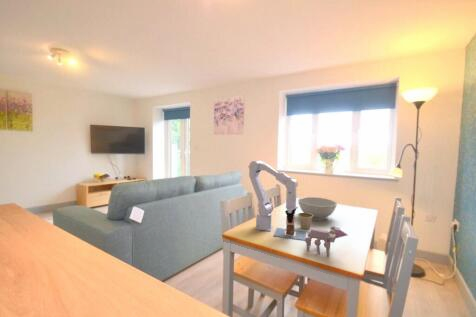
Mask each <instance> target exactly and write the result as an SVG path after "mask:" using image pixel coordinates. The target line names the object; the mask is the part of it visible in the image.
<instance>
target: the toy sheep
mask: <svg viewBox="0 0 476 317" xmlns="http://www.w3.org/2000/svg"><path fill="white" fill-rule="evenodd" d="M309 230H310V231H309V232H308V233H307V236H306V238H305V241H304V243H306V244H305V246H306V251H307V252H310V247H311V245H312V239H314V242H313V243H314V245H315V246H316V254H317V255H320V247H321V246H320V245H321V242H322V241H323V242H324V243H323V246H324V248H325V253H326V257H330V250H331V243H332V244H333V243H335V240H336V239H338V238H343V237H347V236H349V234H347V233H346V232H344V231H343V230H341V227H338V226H334V225H333V226H331V227H330V230H329V231H328V230H325V229H320V228H314V227H310V229H309Z"/></svg>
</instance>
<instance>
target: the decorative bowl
mask: <svg viewBox="0 0 476 317" xmlns="http://www.w3.org/2000/svg"><path fill="white" fill-rule="evenodd" d="M297 203H298V207H300V210H301V211H302V213H310V214H312V215H313V217H312V220H314V221H324V220H326V218H328V217H330V216H331V215H333V213H334V212H335V210H336V208H337V205H338V204H337V202H336V201H335V200H332V199H329V198H325V197H315V196H307V197H301V198H299V199H298V200H297Z"/></svg>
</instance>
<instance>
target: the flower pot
mask: <svg viewBox="0 0 476 317" xmlns="http://www.w3.org/2000/svg"><path fill="white" fill-rule="evenodd" d="M297 215H298V219H299V228H300V229H302V230H311V225H312V220H313V219H312V217H313V215H312V214H310V213H304V212H298V214H297Z"/></svg>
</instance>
